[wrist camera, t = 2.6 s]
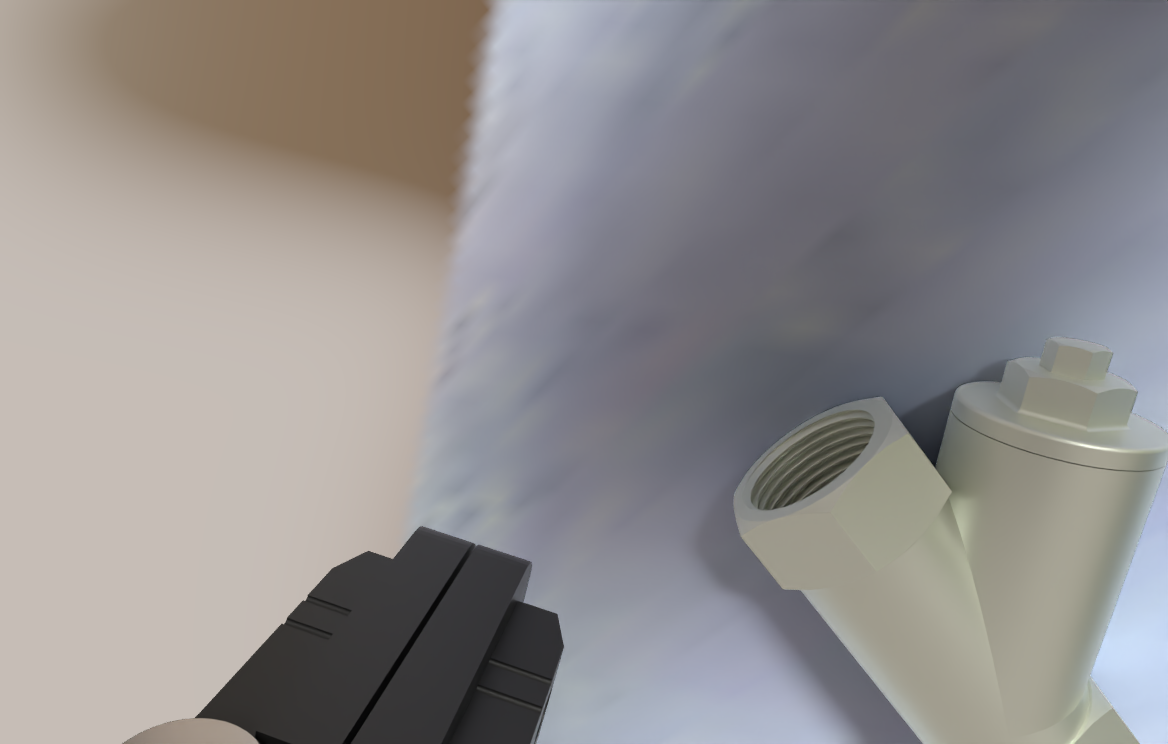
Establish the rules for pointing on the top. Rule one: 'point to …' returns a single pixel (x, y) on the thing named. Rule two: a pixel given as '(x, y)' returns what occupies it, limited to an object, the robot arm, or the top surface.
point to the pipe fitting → (971, 544)
